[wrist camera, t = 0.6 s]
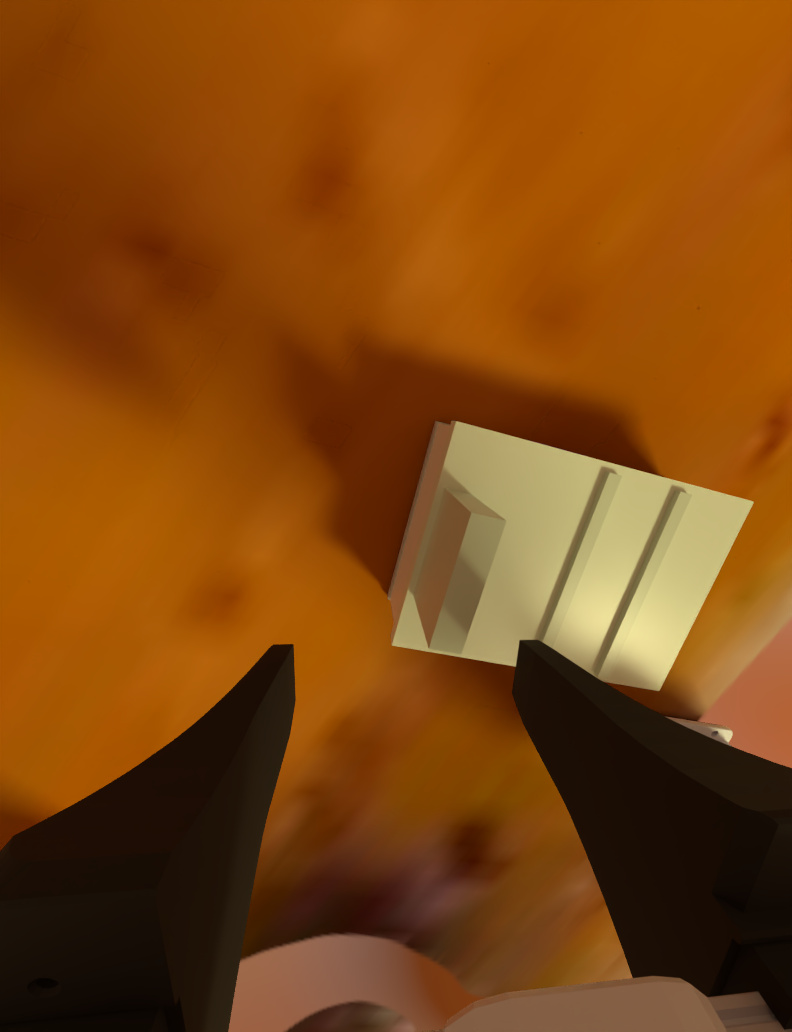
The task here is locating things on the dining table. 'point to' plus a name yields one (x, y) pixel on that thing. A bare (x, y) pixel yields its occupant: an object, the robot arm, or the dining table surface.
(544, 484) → the lid
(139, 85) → the dining table surface
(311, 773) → the dining table surface
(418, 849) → the dining table surface
